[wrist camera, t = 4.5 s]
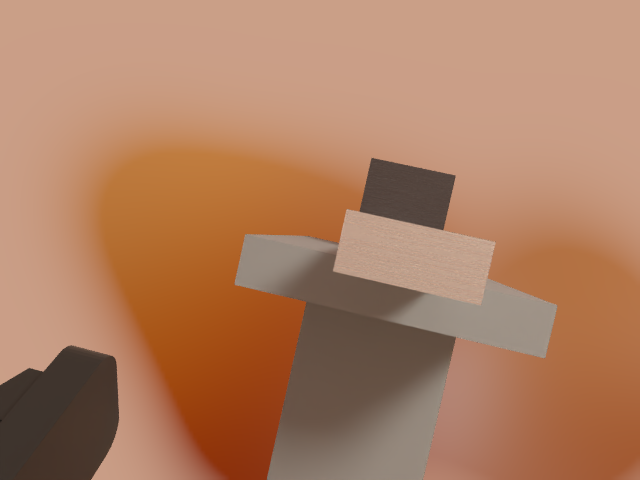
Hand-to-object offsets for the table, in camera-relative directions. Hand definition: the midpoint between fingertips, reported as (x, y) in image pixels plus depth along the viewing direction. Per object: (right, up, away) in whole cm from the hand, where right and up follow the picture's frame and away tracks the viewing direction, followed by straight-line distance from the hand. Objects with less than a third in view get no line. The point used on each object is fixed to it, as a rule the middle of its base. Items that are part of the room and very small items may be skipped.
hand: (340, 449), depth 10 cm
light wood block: (+3, +2, +18) cm, 18 cm away
